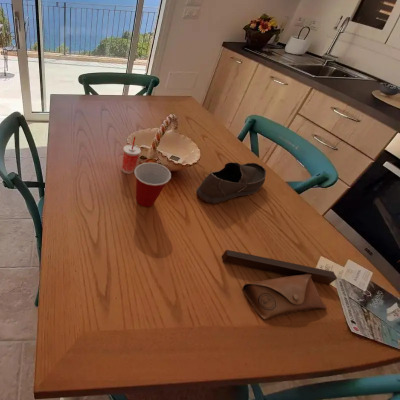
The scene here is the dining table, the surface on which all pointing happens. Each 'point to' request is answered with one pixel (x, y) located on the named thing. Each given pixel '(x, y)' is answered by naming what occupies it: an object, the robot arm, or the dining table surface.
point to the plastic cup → (150, 182)
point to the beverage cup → (130, 158)
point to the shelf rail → (277, 266)
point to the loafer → (232, 182)
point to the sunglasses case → (283, 295)
